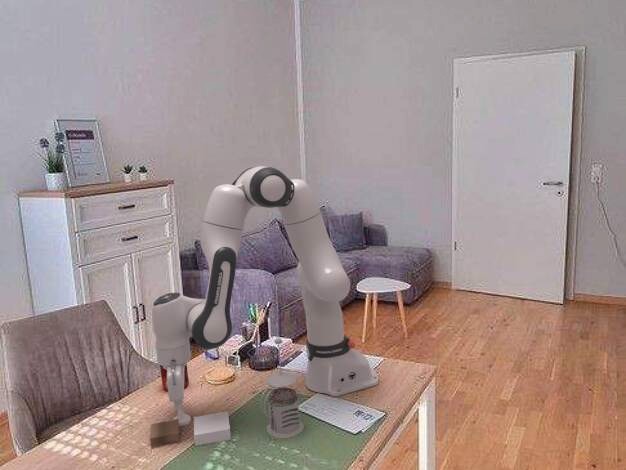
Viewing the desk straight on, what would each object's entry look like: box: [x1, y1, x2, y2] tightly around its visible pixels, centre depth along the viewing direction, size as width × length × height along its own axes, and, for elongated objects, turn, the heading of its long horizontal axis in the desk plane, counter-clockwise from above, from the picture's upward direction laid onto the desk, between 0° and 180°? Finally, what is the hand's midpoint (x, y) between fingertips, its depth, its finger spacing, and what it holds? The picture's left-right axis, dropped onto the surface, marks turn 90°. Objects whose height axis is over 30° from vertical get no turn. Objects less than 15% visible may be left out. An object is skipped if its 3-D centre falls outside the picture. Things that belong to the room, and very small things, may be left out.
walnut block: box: [149, 419, 181, 448], centre depth 138 cm, size 7×7×3 cm
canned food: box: [159, 363, 190, 392], centre depth 165 cm, size 8×8×11 cm
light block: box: [193, 411, 232, 447], centre depth 138 cm, size 9×9×3 cm
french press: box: [259, 337, 305, 439], centre depth 136 cm, size 10×12×25 cm
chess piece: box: [172, 399, 192, 427], centre depth 144 cm, size 5×5×10 cm
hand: (179, 400), depth 144 cm, fingers open, 8 cm apart
